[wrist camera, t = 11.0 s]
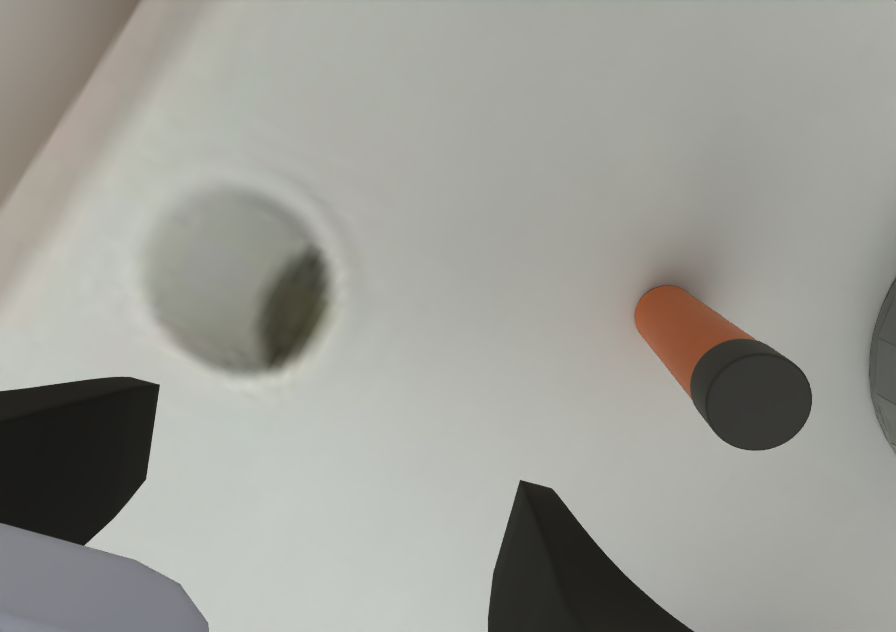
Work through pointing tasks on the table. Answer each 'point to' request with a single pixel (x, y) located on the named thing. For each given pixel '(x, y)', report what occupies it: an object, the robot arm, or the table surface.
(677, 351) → the marker
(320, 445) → the table surface
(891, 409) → the pot
